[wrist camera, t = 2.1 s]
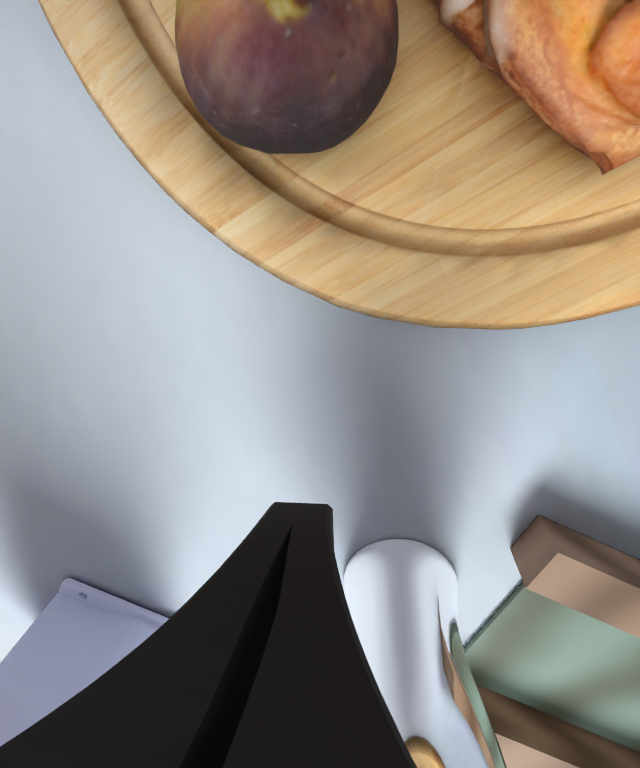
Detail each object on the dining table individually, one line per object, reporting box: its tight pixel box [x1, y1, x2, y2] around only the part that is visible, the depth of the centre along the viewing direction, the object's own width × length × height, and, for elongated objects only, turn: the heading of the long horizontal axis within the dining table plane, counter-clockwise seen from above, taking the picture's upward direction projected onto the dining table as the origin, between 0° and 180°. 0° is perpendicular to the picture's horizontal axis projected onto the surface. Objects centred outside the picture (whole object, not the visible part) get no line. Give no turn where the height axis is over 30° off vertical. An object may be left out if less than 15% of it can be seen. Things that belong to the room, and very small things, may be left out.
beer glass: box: [344, 539, 507, 768], centre depth 17 cm, size 7×7×15 cm
